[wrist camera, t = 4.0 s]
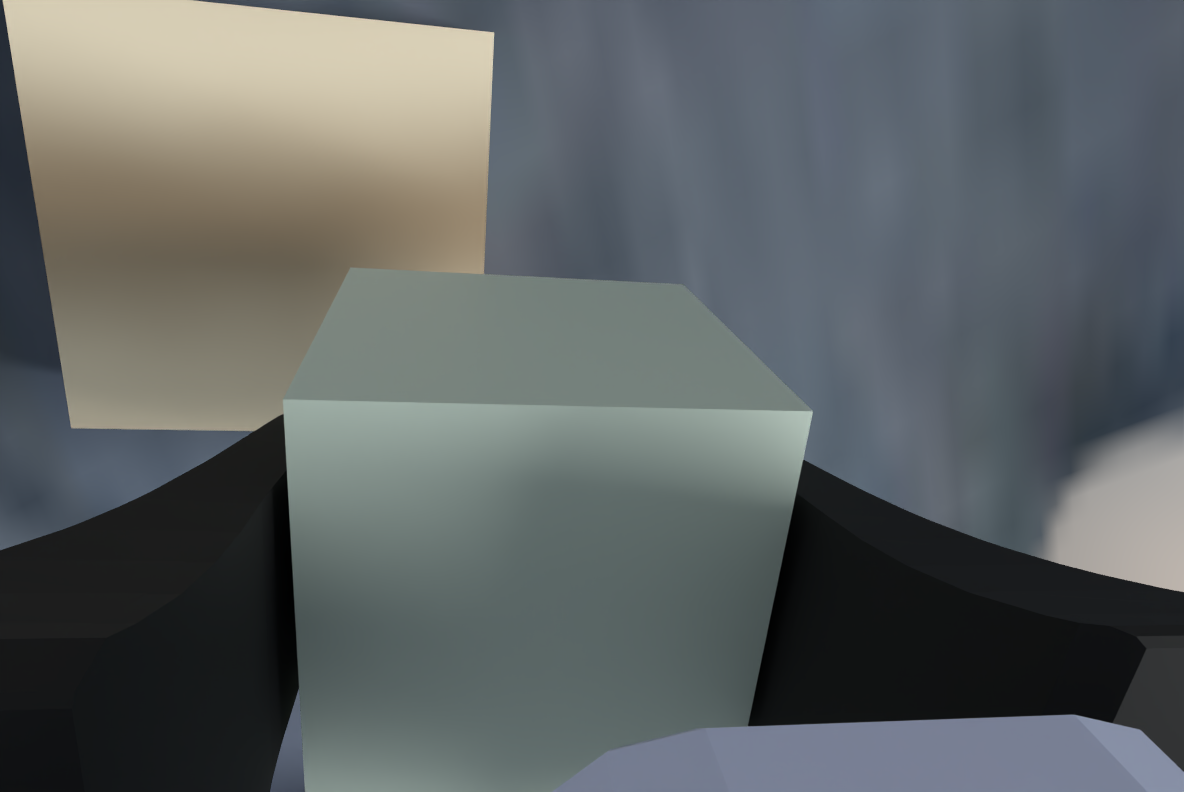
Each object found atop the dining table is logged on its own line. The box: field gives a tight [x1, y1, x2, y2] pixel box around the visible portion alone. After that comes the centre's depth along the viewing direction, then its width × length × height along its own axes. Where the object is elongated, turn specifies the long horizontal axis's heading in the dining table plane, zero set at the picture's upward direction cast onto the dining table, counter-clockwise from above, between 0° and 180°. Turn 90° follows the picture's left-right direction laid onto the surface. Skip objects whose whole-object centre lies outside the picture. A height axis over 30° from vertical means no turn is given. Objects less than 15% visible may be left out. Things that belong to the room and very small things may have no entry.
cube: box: [283, 267, 813, 792], centre depth 11 cm, size 5×5×5 cm
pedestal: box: [3, 0, 494, 431], centre depth 17 cm, size 8×8×3 cm
